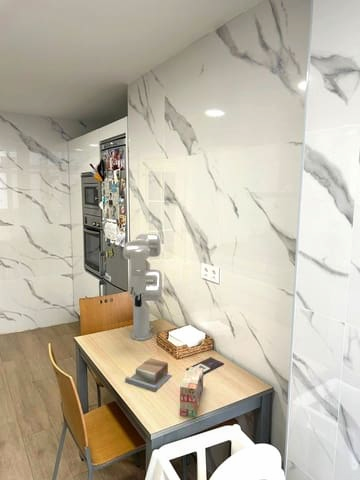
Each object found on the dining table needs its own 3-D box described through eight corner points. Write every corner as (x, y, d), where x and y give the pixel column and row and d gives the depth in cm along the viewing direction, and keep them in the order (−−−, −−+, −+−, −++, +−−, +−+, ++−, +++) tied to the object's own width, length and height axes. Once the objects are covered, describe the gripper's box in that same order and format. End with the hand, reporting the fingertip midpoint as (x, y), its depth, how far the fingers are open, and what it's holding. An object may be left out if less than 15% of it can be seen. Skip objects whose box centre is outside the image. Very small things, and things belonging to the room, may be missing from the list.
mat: (143, 367, 169) (143, 363, 169) (172, 376, 162) (172, 372, 161) (125, 382, 156) (125, 378, 155) (155, 392, 148) (155, 387, 148)
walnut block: (150, 357, 168) (135, 368, 157) (167, 362, 163) (154, 374, 153) (150, 367, 168) (135, 379, 158) (167, 372, 164) (154, 385, 153)
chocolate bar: (224, 363, 173) (199, 376, 161) (224, 365, 174) (199, 377, 161) (210, 357, 180) (186, 368, 168) (210, 358, 180) (186, 370, 168)
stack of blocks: (189, 385, 154) (189, 359, 152) (203, 387, 153) (203, 361, 151) (179, 415, 133) (179, 386, 132) (195, 418, 132) (196, 388, 130)
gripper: (139, 268, 185) (139, 300, 188) (123, 274, 171) (124, 309, 174) (151, 269, 181) (151, 303, 185) (136, 276, 168) (136, 312, 171)
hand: (138, 306), depth 179 cm, fingers closed
